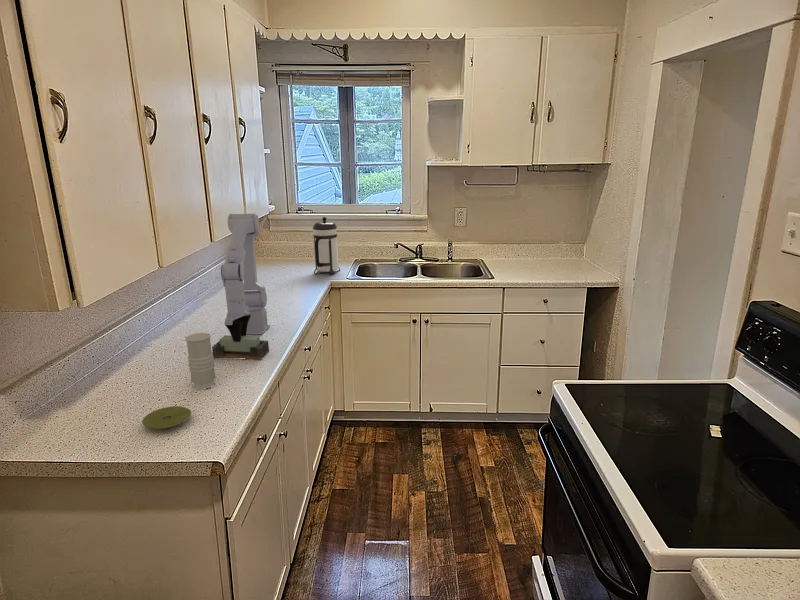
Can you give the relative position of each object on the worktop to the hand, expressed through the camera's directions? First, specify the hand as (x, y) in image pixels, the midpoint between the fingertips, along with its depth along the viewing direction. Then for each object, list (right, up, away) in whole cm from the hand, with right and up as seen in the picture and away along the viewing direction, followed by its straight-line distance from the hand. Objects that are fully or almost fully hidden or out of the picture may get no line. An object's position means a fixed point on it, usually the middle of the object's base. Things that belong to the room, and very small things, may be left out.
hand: (239, 338), depth 174 cm
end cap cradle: (0, -5, +2) cm, 6 cm away
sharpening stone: (0, -3, +1) cm, 4 cm away
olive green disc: (-6, -18, -41) cm, 45 cm away
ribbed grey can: (-4, -12, -20) cm, 24 cm away
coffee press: (+13, +27, +112) cm, 116 cm away
